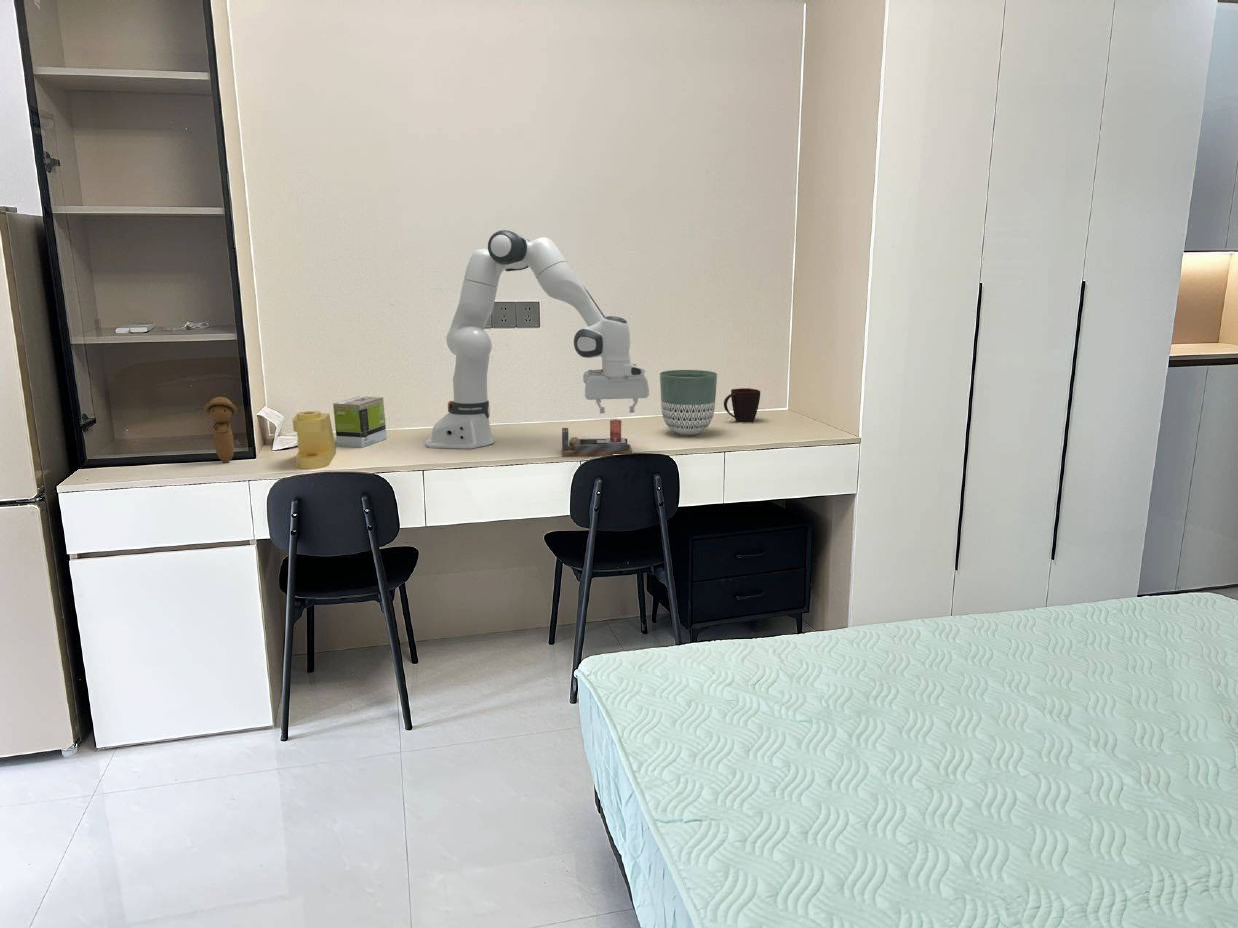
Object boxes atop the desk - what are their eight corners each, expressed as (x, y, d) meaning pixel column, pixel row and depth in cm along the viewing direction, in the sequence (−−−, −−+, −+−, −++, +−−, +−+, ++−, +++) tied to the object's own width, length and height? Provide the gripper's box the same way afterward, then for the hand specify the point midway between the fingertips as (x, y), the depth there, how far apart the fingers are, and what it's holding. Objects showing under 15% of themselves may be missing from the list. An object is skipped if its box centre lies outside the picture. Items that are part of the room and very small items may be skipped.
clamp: (326, 468, 260) (322, 415, 256) (294, 470, 258) (289, 416, 255) (336, 454, 279) (332, 404, 275) (305, 455, 277) (301, 405, 274)
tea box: (362, 437, 303) (359, 395, 300) (387, 439, 300) (384, 396, 297) (335, 446, 290) (332, 402, 286) (362, 448, 287) (359, 403, 283)
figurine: (207, 465, 263) (200, 399, 258) (212, 460, 270) (205, 395, 265) (240, 464, 265) (233, 398, 261) (244, 458, 272) (237, 394, 267)
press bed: (562, 456, 275) (562, 433, 273) (562, 449, 285) (561, 427, 283) (632, 455, 276) (632, 432, 275) (630, 448, 286) (630, 426, 284)
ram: (597, 450, 277) (597, 422, 275) (596, 445, 283) (596, 418, 281) (625, 449, 277) (625, 422, 275) (624, 445, 284) (624, 418, 282)
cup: (763, 423, 330) (764, 391, 327) (730, 425, 324) (731, 393, 322) (749, 418, 339) (750, 387, 336) (717, 421, 333) (718, 389, 330)
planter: (725, 437, 304) (727, 375, 299) (674, 441, 297) (675, 378, 292) (699, 427, 322) (700, 368, 317) (650, 431, 315) (650, 371, 310)
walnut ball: (569, 449, 278) (569, 438, 277) (569, 447, 281) (569, 436, 280) (580, 449, 278) (580, 438, 277) (580, 447, 282) (580, 436, 281)
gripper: (583, 371, 271) (584, 415, 275) (649, 369, 273) (649, 413, 276) (582, 368, 277) (583, 411, 281) (647, 366, 279) (647, 409, 282)
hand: (617, 412), depth 278 cm, fingers open, 8 cm apart
